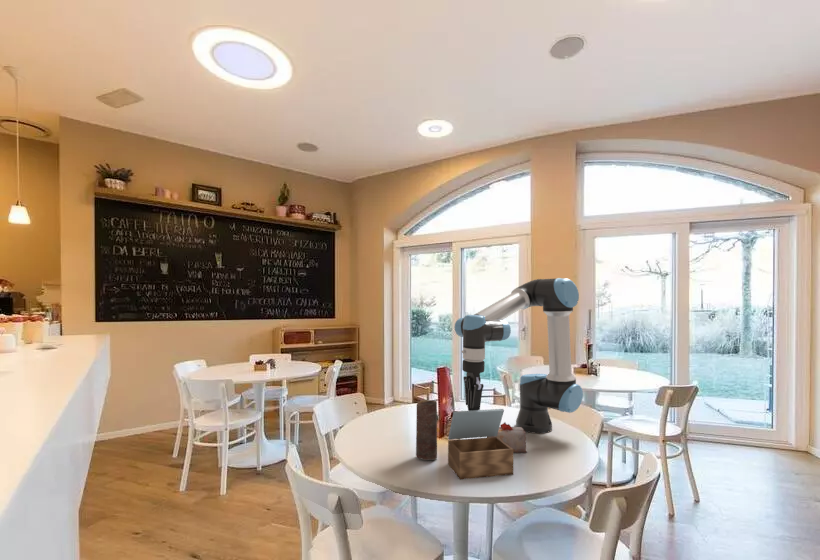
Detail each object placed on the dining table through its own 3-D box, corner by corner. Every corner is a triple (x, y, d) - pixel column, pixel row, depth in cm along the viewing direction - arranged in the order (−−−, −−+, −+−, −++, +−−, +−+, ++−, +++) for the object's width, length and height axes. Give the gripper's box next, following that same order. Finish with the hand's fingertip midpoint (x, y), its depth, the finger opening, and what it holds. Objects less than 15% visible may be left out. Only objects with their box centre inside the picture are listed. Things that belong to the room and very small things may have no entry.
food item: (490, 455, 148) (490, 427, 149) (485, 447, 156) (485, 420, 157) (527, 454, 149) (527, 427, 149) (521, 446, 157) (521, 420, 157)
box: (497, 460, 143) (497, 436, 144) (513, 474, 132) (513, 449, 132) (448, 464, 139) (448, 440, 140) (460, 479, 128) (460, 453, 128)
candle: (430, 465, 139) (430, 405, 140) (411, 460, 143) (412, 401, 144) (440, 457, 145) (441, 400, 146) (422, 453, 149) (423, 397, 150)
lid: (496, 436, 144) (496, 434, 144) (504, 410, 139) (503, 408, 139) (448, 439, 140) (448, 437, 141) (454, 413, 135) (453, 411, 135)
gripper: (457, 356, 147) (455, 423, 147) (469, 363, 135) (468, 435, 135) (476, 356, 149) (475, 422, 149) (491, 363, 137) (489, 434, 136)
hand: (472, 428), depth 142 cm, fingers closed
